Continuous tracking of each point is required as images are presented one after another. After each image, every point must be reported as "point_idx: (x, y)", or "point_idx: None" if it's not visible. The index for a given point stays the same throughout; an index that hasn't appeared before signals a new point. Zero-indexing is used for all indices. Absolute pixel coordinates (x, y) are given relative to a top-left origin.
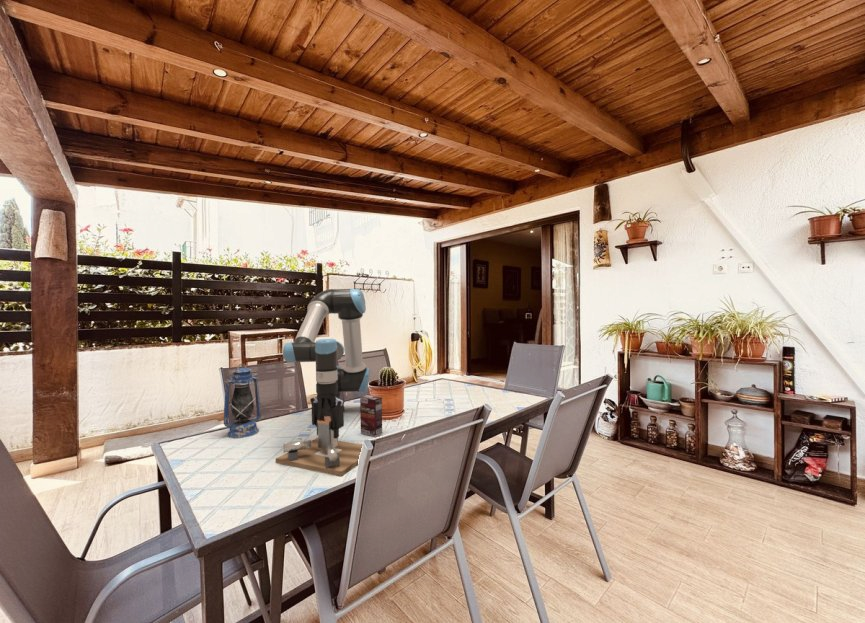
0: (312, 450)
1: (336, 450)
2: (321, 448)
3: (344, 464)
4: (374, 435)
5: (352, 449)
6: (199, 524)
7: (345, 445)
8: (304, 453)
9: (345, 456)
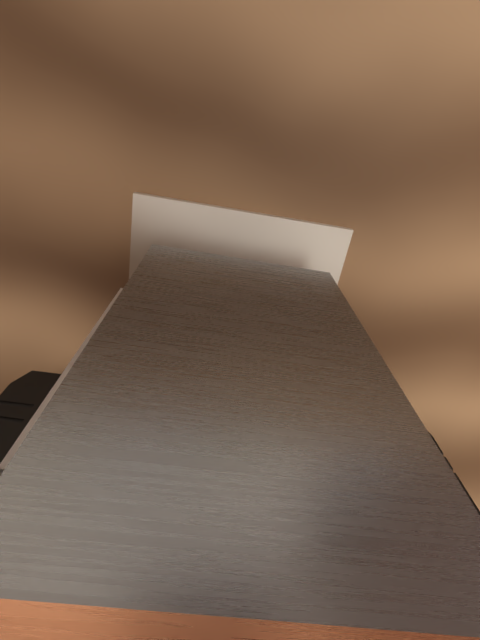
0: (35, 292)
1: (301, 265)
2: (90, 223)
3: (464, 469)
4: None
5: (468, 178)
6: None
7: (337, 56)
8: (18, 367)
9: (435, 354)
